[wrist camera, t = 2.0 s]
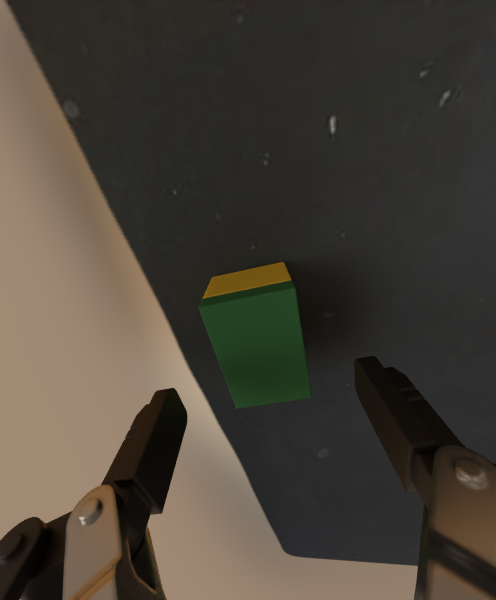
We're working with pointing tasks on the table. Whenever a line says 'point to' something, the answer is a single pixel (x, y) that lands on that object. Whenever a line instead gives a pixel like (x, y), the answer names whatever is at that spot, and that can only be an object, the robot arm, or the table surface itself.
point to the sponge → (257, 335)
